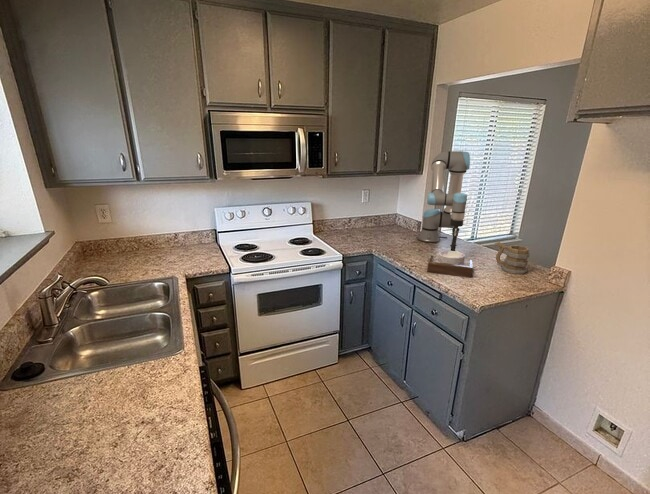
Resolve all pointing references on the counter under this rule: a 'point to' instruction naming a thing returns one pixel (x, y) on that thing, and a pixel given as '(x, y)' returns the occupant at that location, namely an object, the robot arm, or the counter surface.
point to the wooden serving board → (450, 268)
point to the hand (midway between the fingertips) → (452, 255)
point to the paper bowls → (451, 257)
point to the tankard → (513, 258)
